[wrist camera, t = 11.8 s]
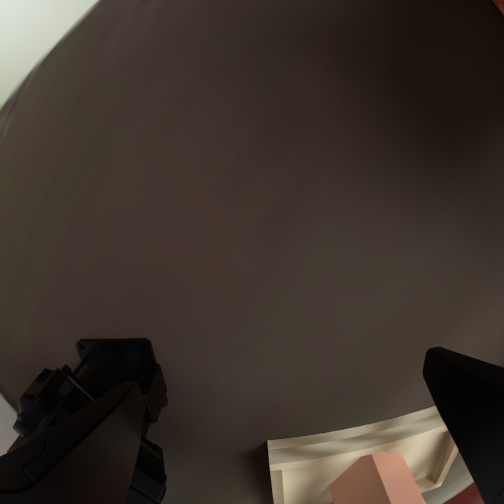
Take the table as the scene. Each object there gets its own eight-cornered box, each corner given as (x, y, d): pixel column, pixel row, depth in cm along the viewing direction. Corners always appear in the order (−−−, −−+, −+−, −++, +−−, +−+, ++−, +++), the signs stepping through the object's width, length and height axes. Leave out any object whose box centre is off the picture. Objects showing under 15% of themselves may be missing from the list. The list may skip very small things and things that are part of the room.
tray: (274, 506, 28) (276, 525, 25) (267, 440, 25) (269, 464, 22) (431, 470, 28) (440, 486, 25) (460, 397, 25) (473, 413, 22)
